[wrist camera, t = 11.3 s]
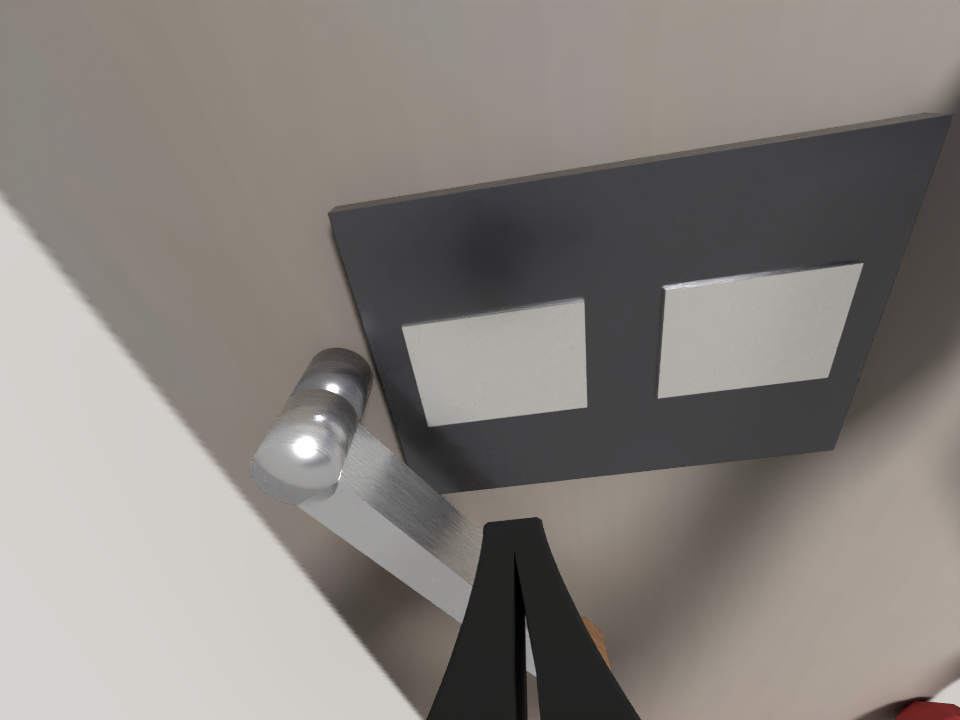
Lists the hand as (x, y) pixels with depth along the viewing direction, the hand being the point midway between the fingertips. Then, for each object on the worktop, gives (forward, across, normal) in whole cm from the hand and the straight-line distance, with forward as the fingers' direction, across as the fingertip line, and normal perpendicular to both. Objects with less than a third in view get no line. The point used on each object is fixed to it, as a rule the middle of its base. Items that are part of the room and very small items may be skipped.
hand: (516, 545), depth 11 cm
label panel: (+9, -3, 0) cm, 10 cm away
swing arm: (+6, +3, +8) cm, 11 cm away
